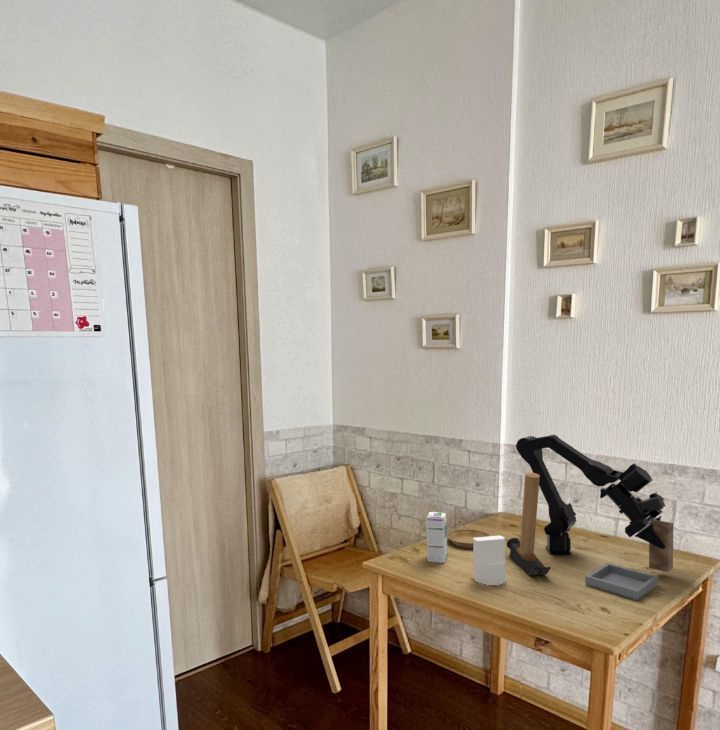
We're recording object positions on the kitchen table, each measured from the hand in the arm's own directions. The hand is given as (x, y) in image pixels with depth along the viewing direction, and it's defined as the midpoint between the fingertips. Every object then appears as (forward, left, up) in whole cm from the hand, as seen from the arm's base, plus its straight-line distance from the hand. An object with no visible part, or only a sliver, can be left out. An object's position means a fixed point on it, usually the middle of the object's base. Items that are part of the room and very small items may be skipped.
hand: (666, 545), depth 157 cm
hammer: (-38, +7, -9) cm, 40 cm away
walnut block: (-1, +1, -7) cm, 7 cm away
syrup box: (-65, +12, -9) cm, 67 cm away
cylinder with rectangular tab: (-51, -3, -9) cm, 52 cm away
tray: (-15, -6, -9) cm, 19 cm away
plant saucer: (-53, +28, -10) cm, 61 cm away
